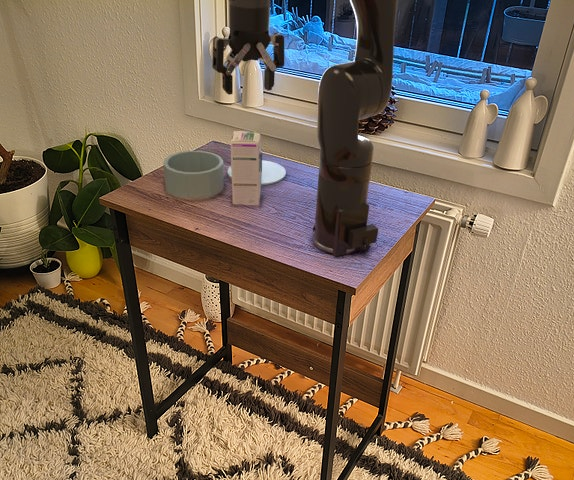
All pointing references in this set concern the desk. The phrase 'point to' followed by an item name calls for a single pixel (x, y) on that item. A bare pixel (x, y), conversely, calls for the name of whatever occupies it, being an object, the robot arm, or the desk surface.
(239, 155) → the syrup box
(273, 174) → the lid
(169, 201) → the desk surface
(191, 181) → the pot
